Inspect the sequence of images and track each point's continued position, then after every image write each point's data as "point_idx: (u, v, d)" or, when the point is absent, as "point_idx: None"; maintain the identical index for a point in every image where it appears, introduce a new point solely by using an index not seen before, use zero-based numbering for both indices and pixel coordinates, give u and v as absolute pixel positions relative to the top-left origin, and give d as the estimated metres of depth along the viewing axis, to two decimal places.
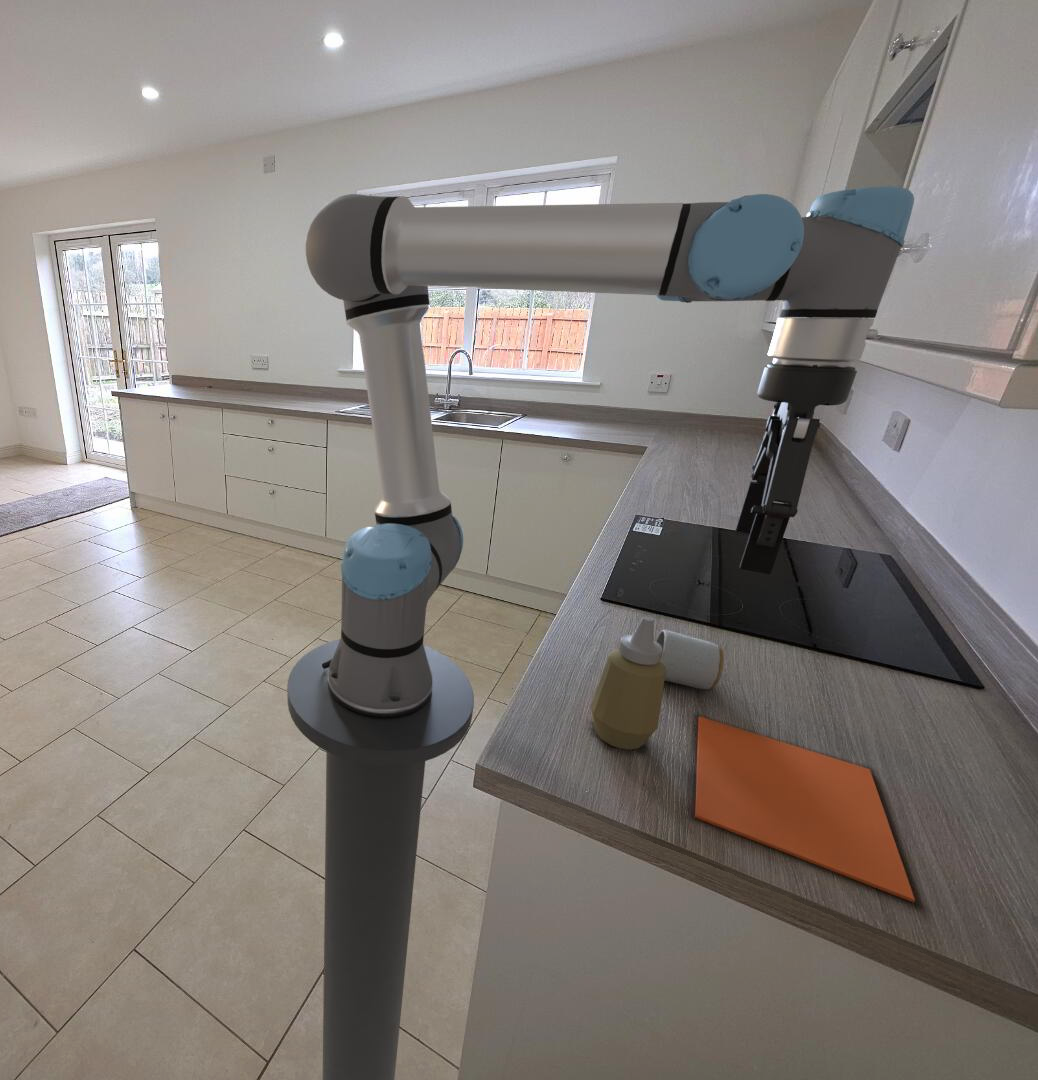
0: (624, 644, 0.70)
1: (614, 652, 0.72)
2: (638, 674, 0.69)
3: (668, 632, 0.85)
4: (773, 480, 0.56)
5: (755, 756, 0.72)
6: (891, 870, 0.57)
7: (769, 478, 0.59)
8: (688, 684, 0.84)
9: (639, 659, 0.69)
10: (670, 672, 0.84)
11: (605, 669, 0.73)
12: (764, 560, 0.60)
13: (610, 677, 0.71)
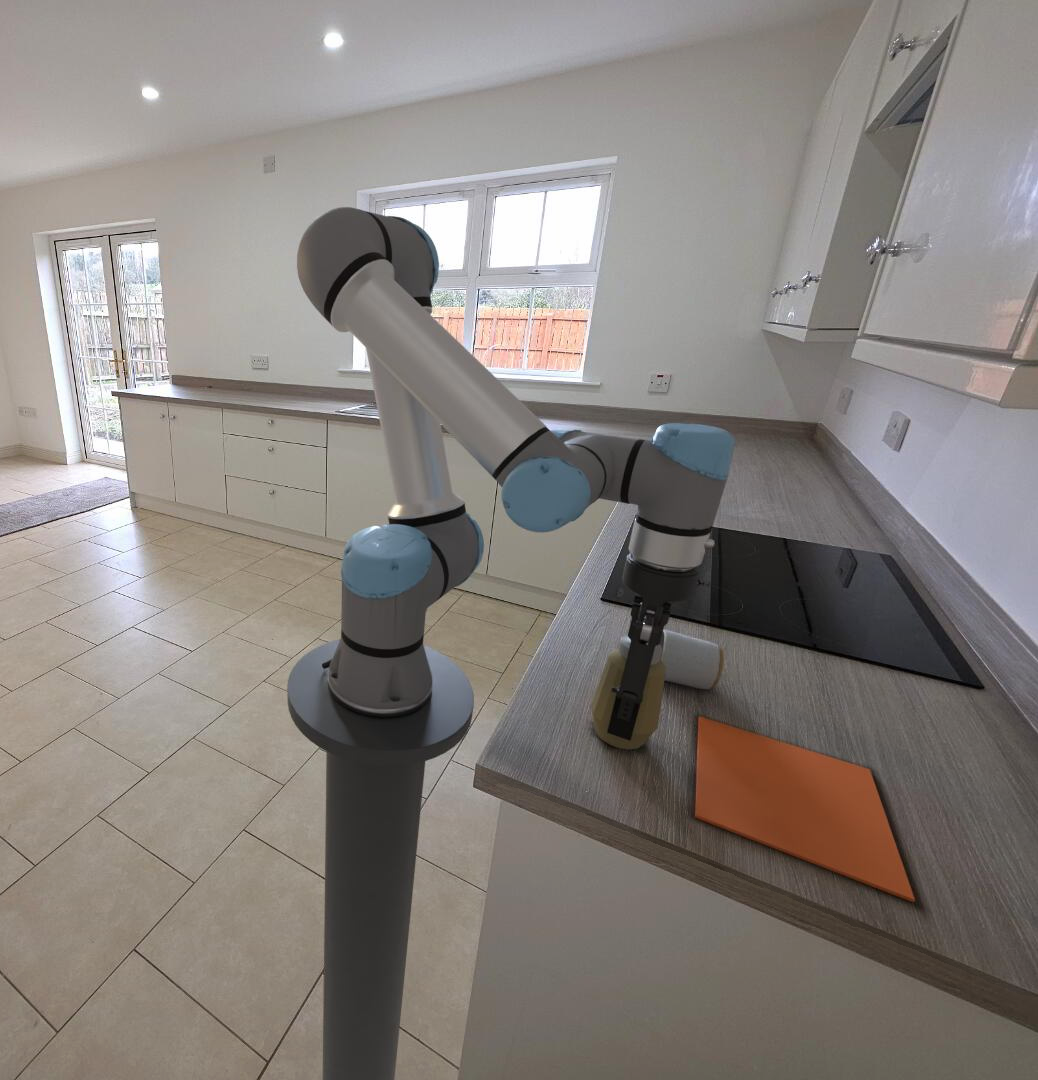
0: (624, 644, 0.70)
1: (614, 652, 0.72)
2: None
3: (668, 632, 0.85)
4: (623, 673, 0.65)
5: (755, 756, 0.72)
6: (891, 870, 0.57)
7: None
8: (688, 684, 0.84)
9: None
10: (670, 672, 0.84)
11: (605, 669, 0.73)
12: (625, 729, 0.70)
13: (610, 677, 0.71)
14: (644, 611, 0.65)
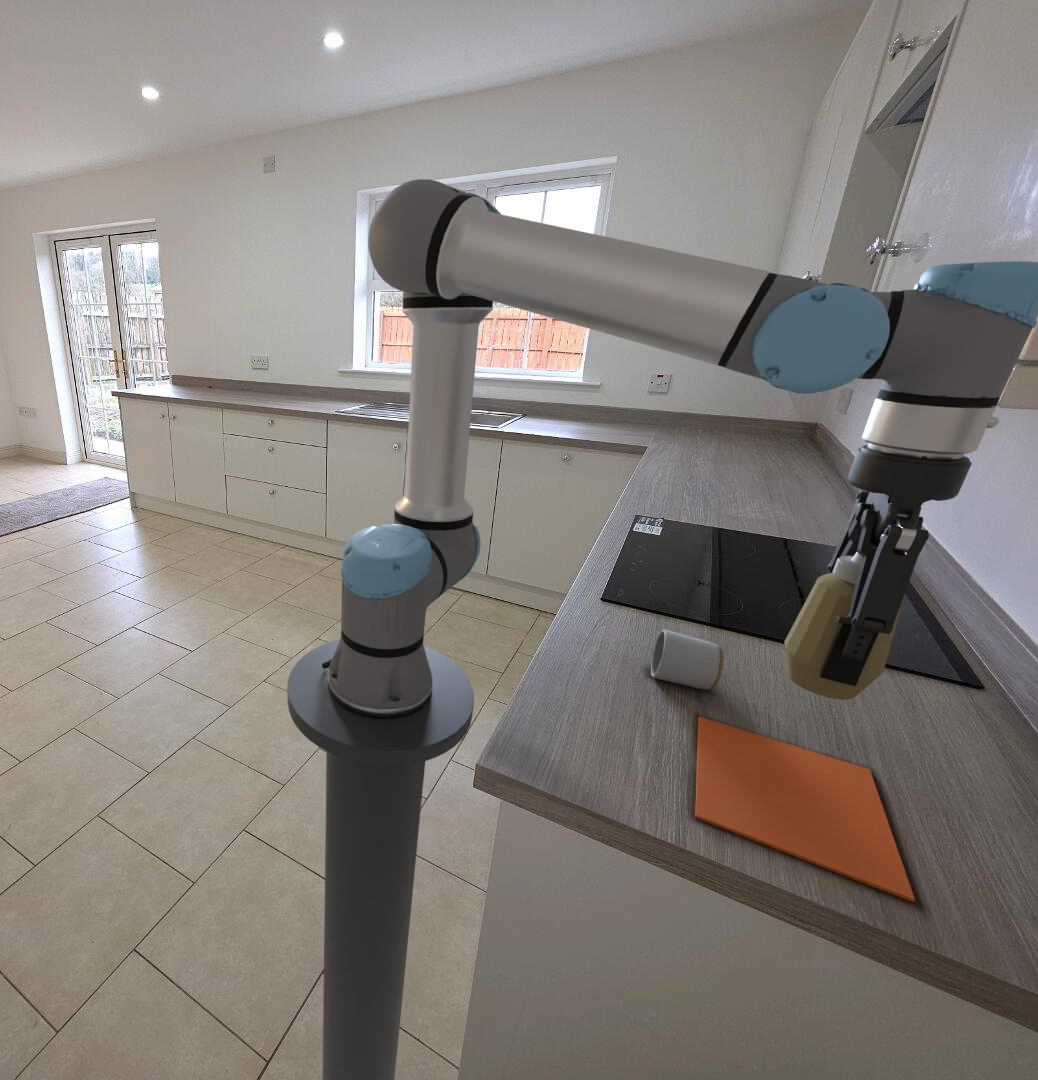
0: (847, 565, 0.56)
1: (826, 578, 0.58)
2: None
3: (668, 632, 0.85)
4: (866, 595, 0.51)
5: (755, 756, 0.72)
6: (891, 870, 0.57)
7: (859, 585, 0.53)
8: (688, 684, 0.84)
9: None
10: (670, 672, 0.84)
11: (814, 599, 0.58)
12: (849, 671, 0.56)
13: (825, 608, 0.57)
14: (895, 514, 0.51)
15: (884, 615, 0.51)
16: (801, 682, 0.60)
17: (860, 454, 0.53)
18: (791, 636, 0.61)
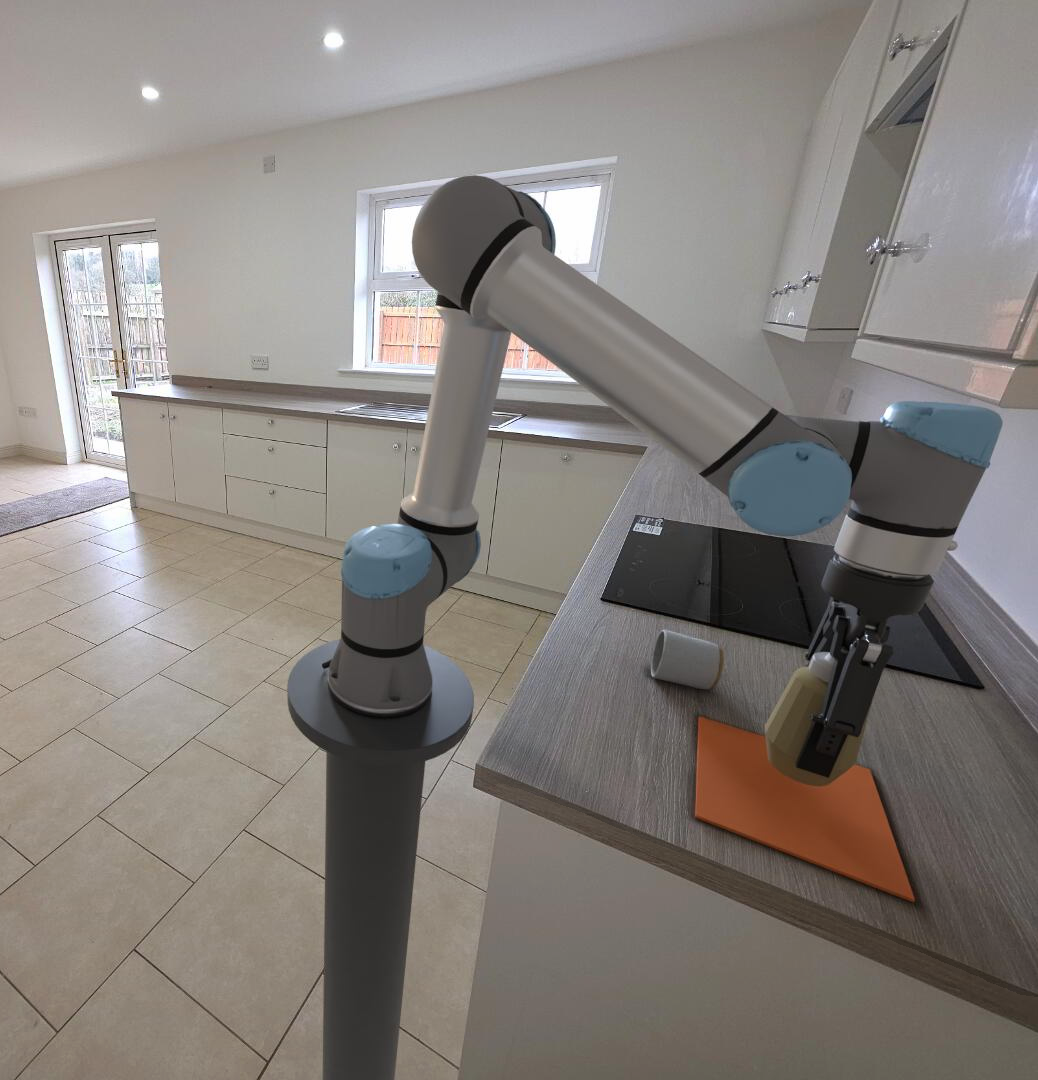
0: (821, 664, 0.60)
1: (802, 672, 0.62)
2: None
3: (668, 632, 0.85)
4: (837, 700, 0.55)
5: (755, 756, 0.72)
6: (891, 870, 0.57)
7: (831, 687, 0.57)
8: (688, 684, 0.84)
9: None
10: (670, 672, 0.84)
11: (791, 692, 0.62)
12: (823, 764, 0.59)
13: (801, 702, 0.61)
14: (863, 626, 0.54)
15: (853, 720, 0.54)
16: (779, 767, 0.64)
17: (832, 565, 0.57)
18: (770, 723, 0.65)
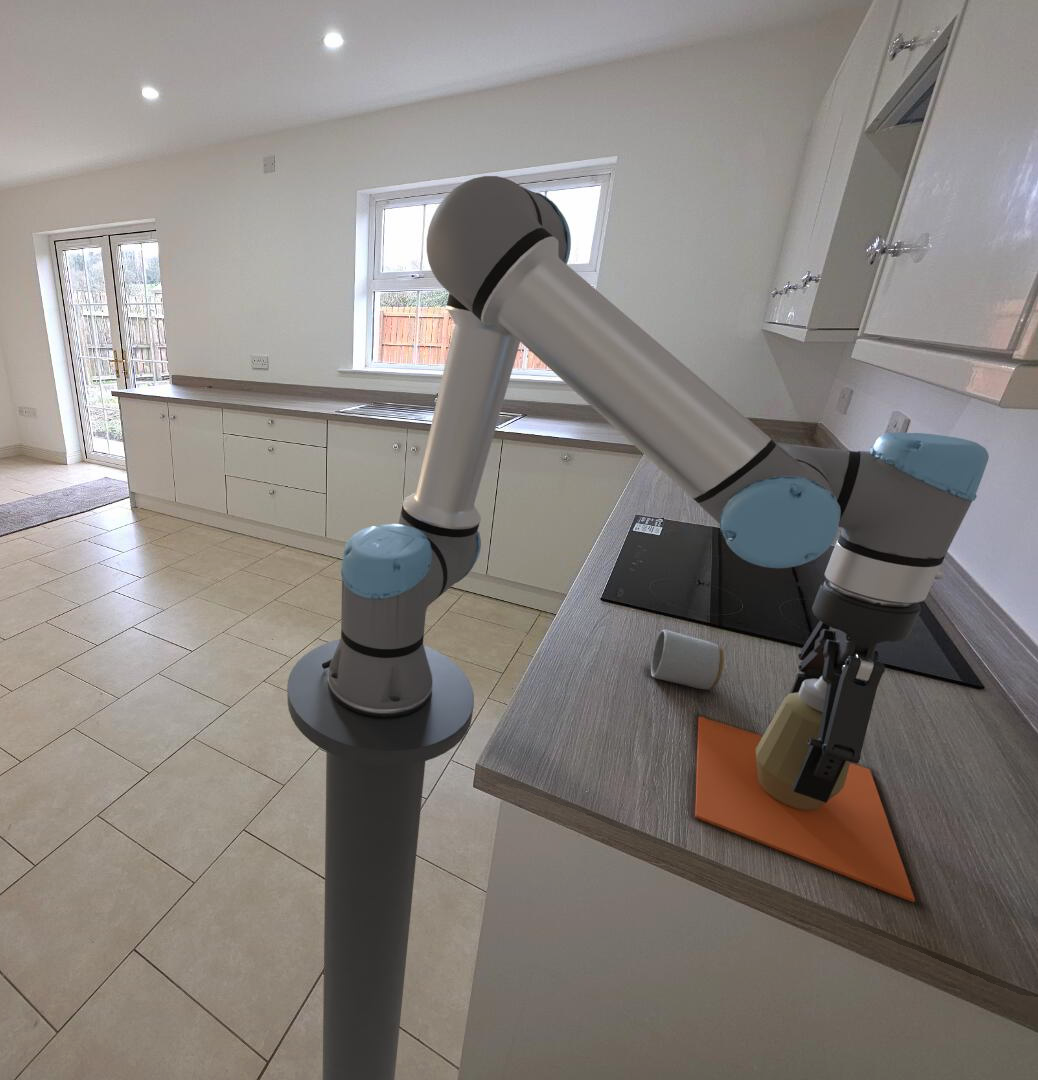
0: (811, 691, 0.61)
1: (792, 699, 0.63)
2: None
3: (668, 632, 0.85)
4: (834, 721, 0.54)
5: (755, 756, 0.72)
6: (891, 870, 0.57)
7: (827, 709, 0.57)
8: (688, 684, 0.84)
9: None
10: (670, 672, 0.84)
11: (781, 718, 0.64)
12: (820, 788, 0.58)
13: (790, 728, 0.62)
14: (852, 648, 0.56)
15: (851, 743, 0.53)
16: (769, 791, 0.65)
17: (822, 590, 0.58)
18: (761, 747, 0.66)
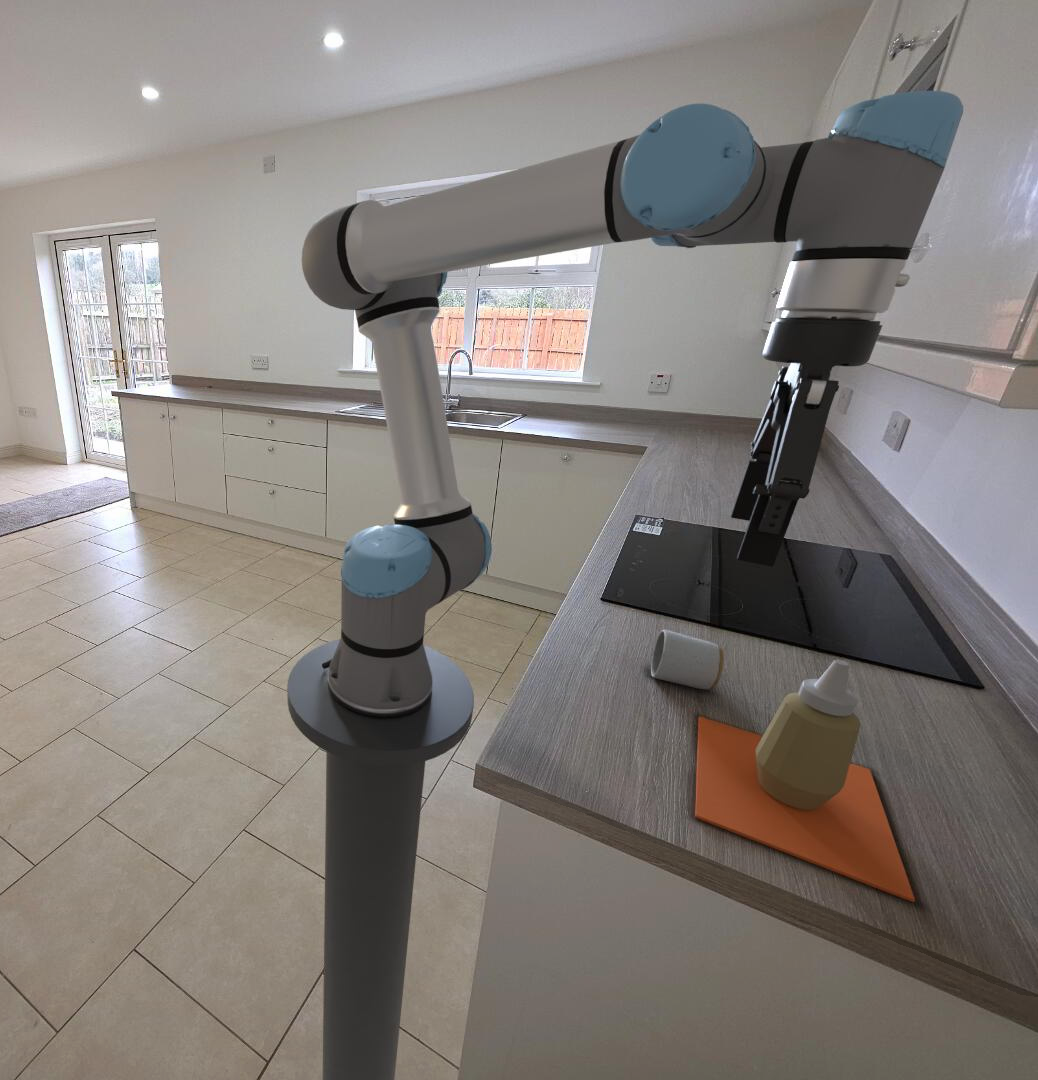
0: (810, 691, 0.61)
1: (792, 699, 0.63)
2: (831, 727, 0.59)
3: (668, 632, 0.85)
4: (781, 453, 0.47)
5: (755, 756, 0.72)
6: (891, 870, 0.57)
7: (775, 453, 0.50)
8: (688, 684, 0.84)
9: (832, 709, 0.60)
10: (670, 672, 0.84)
11: (781, 718, 0.64)
12: (766, 550, 0.51)
13: (790, 728, 0.62)
14: (804, 378, 0.49)
15: (800, 474, 0.46)
16: (769, 790, 0.65)
17: (773, 324, 0.51)
18: (761, 747, 0.66)
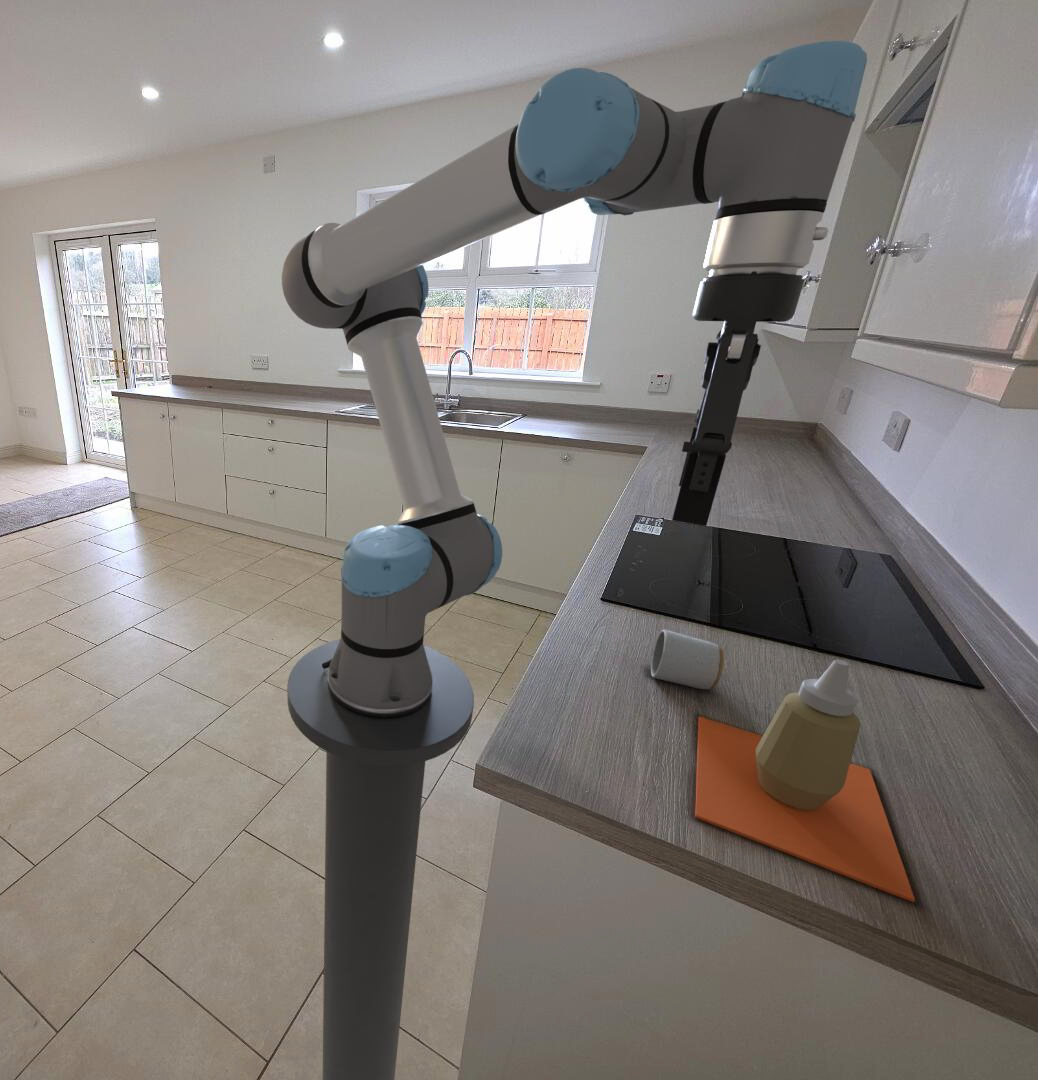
0: (810, 691, 0.61)
1: (792, 699, 0.63)
2: (831, 727, 0.59)
3: (668, 632, 0.85)
4: (704, 409, 0.47)
5: (755, 756, 0.72)
6: (891, 870, 0.57)
7: (703, 410, 0.49)
8: (688, 684, 0.84)
9: (832, 709, 0.60)
10: (670, 672, 0.84)
11: (781, 718, 0.64)
12: (699, 509, 0.51)
13: (790, 728, 0.62)
14: None
15: (722, 428, 0.46)
16: (769, 791, 0.65)
17: (700, 283, 0.51)
18: (761, 747, 0.66)
